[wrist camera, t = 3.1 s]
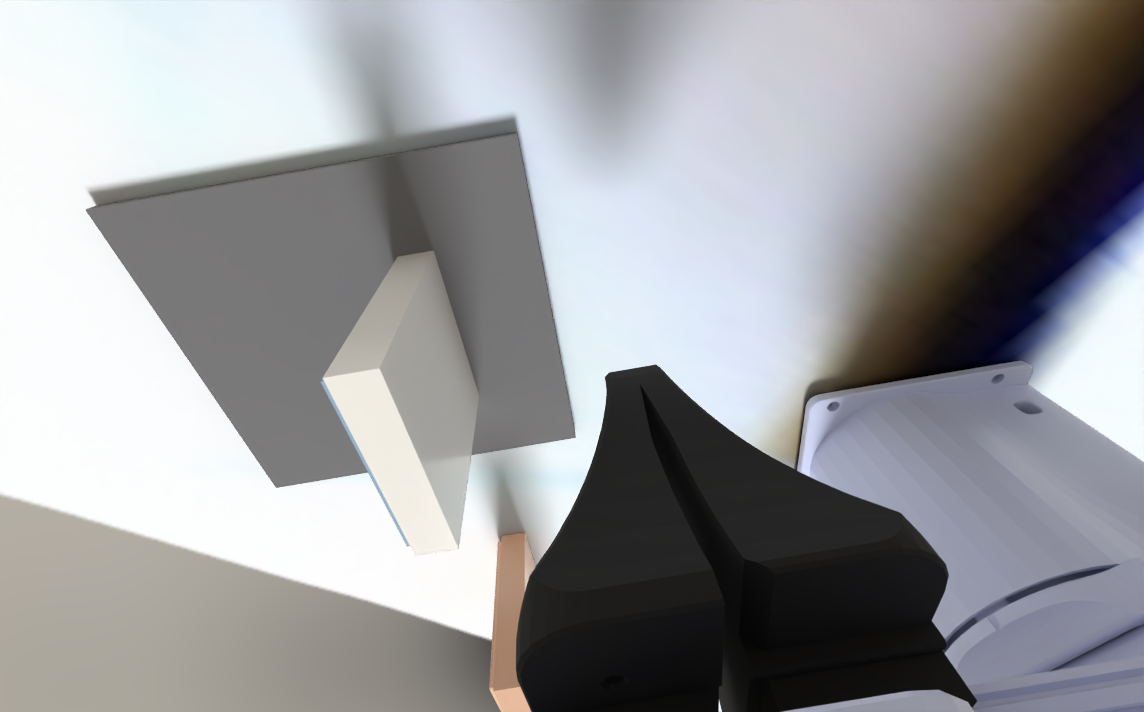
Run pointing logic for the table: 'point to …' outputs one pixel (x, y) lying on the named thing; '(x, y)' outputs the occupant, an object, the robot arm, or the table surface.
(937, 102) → the table surface
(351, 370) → the glazed tile
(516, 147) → the mat
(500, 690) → the terracotta tile
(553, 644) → the robot arm
